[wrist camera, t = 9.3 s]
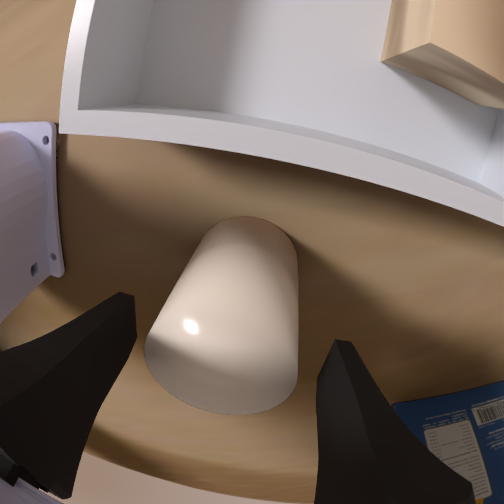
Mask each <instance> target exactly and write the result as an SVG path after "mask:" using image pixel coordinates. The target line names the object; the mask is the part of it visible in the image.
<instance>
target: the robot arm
mask: <svg viewBox="0 0 504 504" xmlns="http://www.w3.org/2000/svg"><path fill="white" fill-rule="evenodd" d="M47 137H48V138H49V143H48V142H47ZM54 254H55V255H56V256H55V255H54ZM64 271H65V270H64V263H63V256H62V248H61V239H60V230H59V219H58V205H57V186H56V125H55V124H54V123H53V122H51V121H27V122H2V123H0V323H1V322H2V321H3V320H4V319H5V318H6V317H7V316H8V315H9V314H10V313H11V312H12V311H13V310H14V309H15V308H16V307H17V306H18V305H19V304H20V303H21V302H22V301H23V300H24V299H25V298H26V297H27V296H28V295H29V294H30V293H31V292H32V291H34V290H35V289H36V288H37V287H38V286H39V285H40V284H41V283H42V282H43V281H44V280H45V279H46V278H47V277H49V276H50V275H52V276H55V277H61V276H62V275H63V274H64ZM136 339H137V331H136V317H135V301H134V296H133V295H129V294H125V293H122V292H118V293H117V294H115V295H113V296H112V297H110V298H108V299H107V300H105V301H103V302H102V303H100V304H99V305H97V306H95V307H94V308H92V309H91V310H89V311H87V312H86V313H84V314H82V315H81V316H79V317H77V318H76V319H74V320H72V321H70V322H68V323H67V324H65V325H63V326H61V327H59V328H58V329H56V330H54V331H52V332H50V333H48V334H46V335H44V336H42V337H39V338H37V339H35V340H32V341H30V342H27V343H25V344H22V345H19V346H16V347H13V348H10V349H8V350H5V351H1V352H0V504H63V503H61V502H59V501H58V500H56V499H54V498H52V497H50V496H48V495H47V494H45V493H43V492H42V491H40V490H39V488H40V489H42V490H43V491H45V492H50V493H52V494H53V495H55V496H57V497H59V498H61V499H68V498H70V497H71V496H72V491H73V486H74V482H75V478H76V474H77V470H78V466H79V462H80V460H81V456H82V452H83V450H84V447H85V444H86V441H87V438H88V436H89V433H90V430H91V428H92V425H93V423H94V420H95V418H96V415H97V413H98V411H99V409H100V407H101V405H102V403H103V401H104V399H105V398H106V396H107V394H108V393H109V391H110V389H111V387H112V386H113V384H114V382H115V380H116V379H117V377H118V375H119V374H120V372H121V370H122V368H123V367H124V365H125V363H126V362H127V360H128V358H129V355H130V353H131V351H132V348H133V346H134V343H135V341H136ZM316 413H317V431H318V451H319V461H318V475H317V485H316V494H315V501H314V504H476V500H475V495H474V491H473V486H472V483H471V482H470V481H468V480H467V479H465V478H464V477H462V476H461V475H460V474H458V473H457V472H455V471H454V470H452V469H451V468H450V467H448V466H447V465H446V464H445V463H444V462H442V461H441V460H440V459H439V458H437V457H436V456H435V455H434V454H433V453H432V452H431V451H430V450H429V449H428V448H427V447H426V446H425V445H424V444H423V443H422V442H421V441H420V440H419V439H418V438H417V437H416V436H415V435H414V434H413V433H412V432H411V431H410V430H409V428H408V427H407V426H406V425H405V424H404V422H403V421H402V420H401V419H400V418H399V416H398V415H397V414H396V412H395V411H394V410H393V408H392V407H391V405H390V404H389V403H388V401H387V400H386V398H385V397H384V395H383V394H382V392H381V391H380V389H379V388H378V386H377V385H376V383H375V381H374V380H373V378H372V377H371V375H370V373H369V371H368V370H367V368H366V366H365V365H364V363H363V361H362V360H361V358H360V356H359V354H358V353H357V351H356V349H355V347H354V346H353V344H352V342H348V341H342V340H336V339H335V341H334V343H333V345H332V347H331V350H330V352H329V354H328V356H327V358H326V360H325V362H324V365H323V367H322V369H321V371H320V373H319V375H318V378H317V392H316Z"/></svg>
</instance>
